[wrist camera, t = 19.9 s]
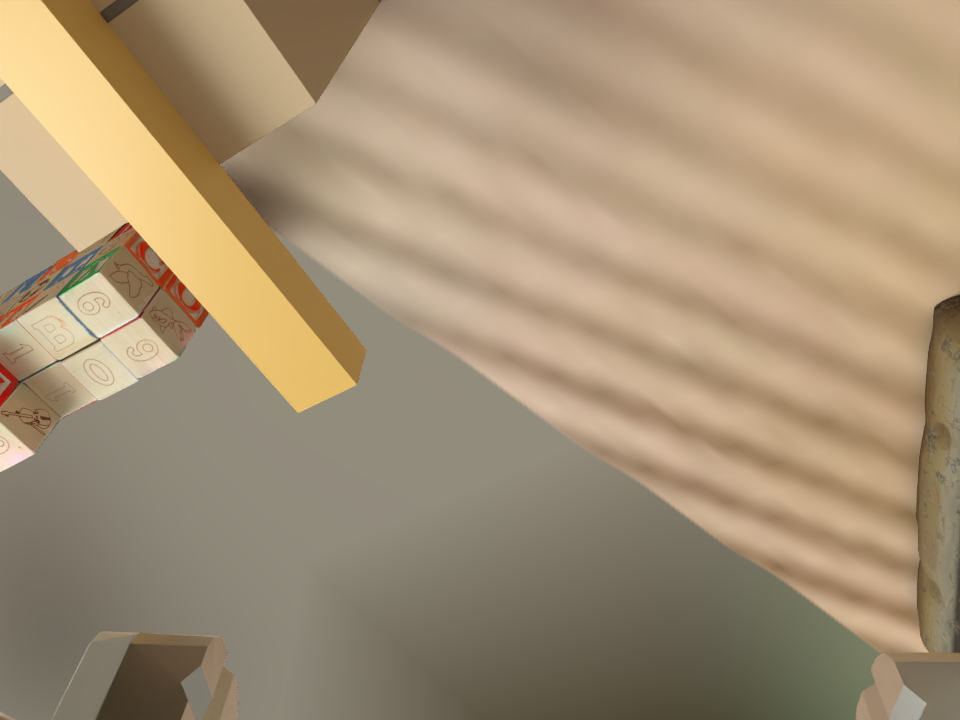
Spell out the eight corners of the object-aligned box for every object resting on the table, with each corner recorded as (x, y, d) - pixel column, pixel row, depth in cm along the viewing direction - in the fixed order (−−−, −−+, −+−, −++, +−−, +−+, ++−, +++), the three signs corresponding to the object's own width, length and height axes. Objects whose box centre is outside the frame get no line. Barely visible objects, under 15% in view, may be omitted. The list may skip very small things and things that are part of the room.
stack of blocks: (165, 194, 50) (74, 301, 40) (232, 276, 53) (163, 395, 43) (-75, 336, 57) (-205, 458, 47) (-3, 402, 60) (-111, 530, 50)
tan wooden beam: (366, 349, 36) (356, 384, 34) (310, 377, 37) (298, 412, 35) (-164, -319, 24) (-229, -328, 22) (-226, -252, 25) (-294, -254, 23)
